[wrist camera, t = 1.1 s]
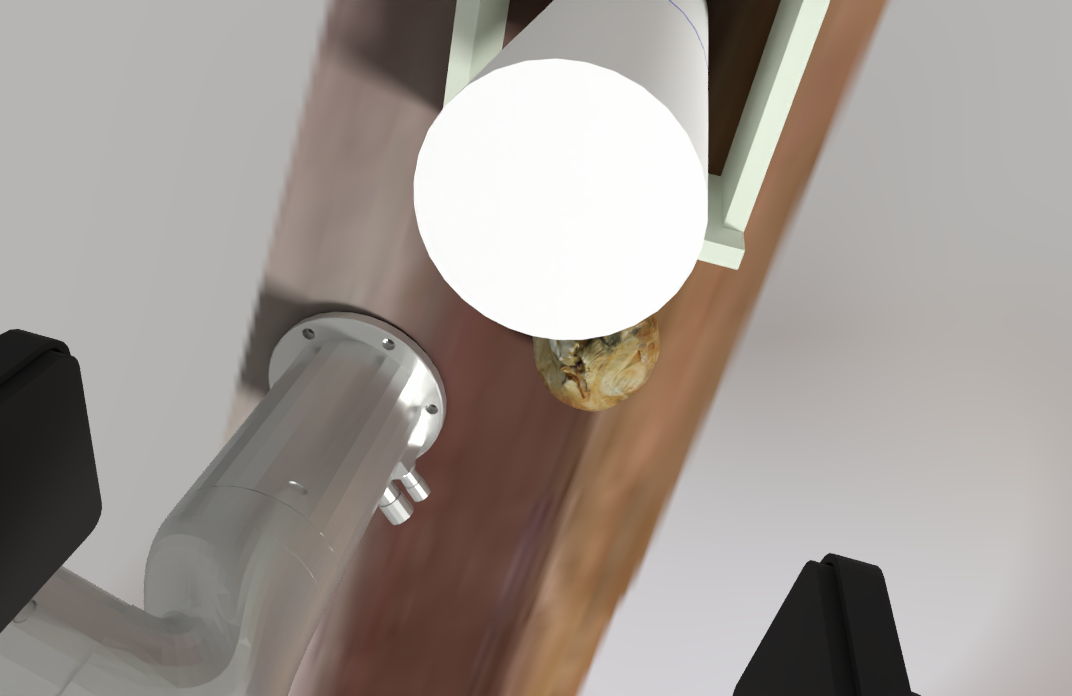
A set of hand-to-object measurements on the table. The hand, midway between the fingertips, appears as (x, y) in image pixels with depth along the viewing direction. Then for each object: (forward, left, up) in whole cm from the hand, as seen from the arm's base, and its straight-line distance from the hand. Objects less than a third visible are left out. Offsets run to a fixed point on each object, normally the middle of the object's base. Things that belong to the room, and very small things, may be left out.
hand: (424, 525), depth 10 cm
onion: (-15, +9, -36) cm, 40 cm away
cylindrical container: (0, 0, -36) cm, 36 cm away
